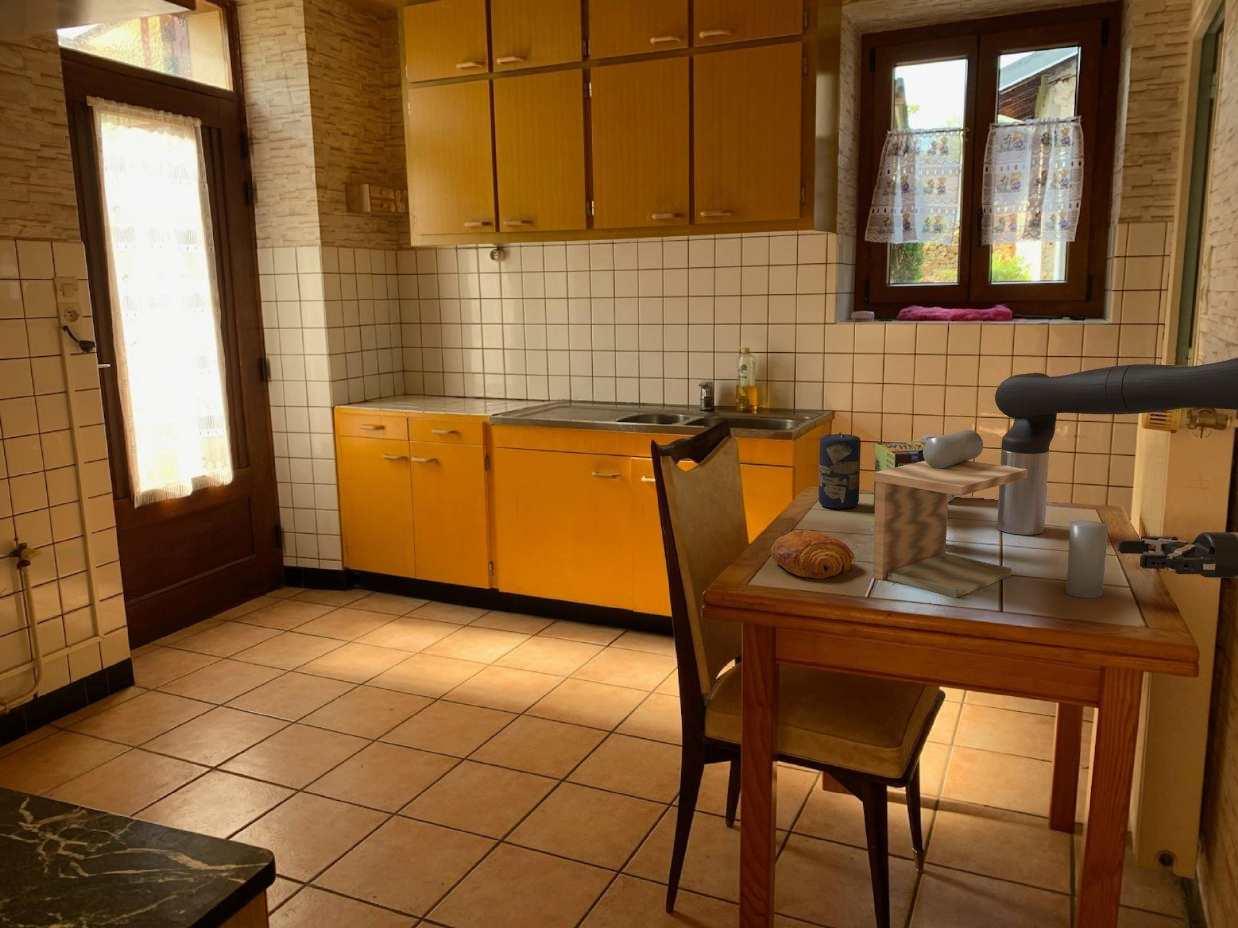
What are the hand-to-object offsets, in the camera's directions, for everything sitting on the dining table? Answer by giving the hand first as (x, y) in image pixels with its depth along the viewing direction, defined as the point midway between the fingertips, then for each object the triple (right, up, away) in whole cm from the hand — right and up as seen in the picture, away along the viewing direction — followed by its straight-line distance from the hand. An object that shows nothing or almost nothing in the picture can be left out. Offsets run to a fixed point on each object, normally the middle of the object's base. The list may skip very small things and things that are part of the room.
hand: (1129, 553), depth 157 cm
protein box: (-20, +3, +59) cm, 62 cm away
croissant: (-49, -5, +19) cm, 53 cm away
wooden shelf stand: (-26, -5, +12) cm, 29 cm away
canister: (-33, +5, +67) cm, 75 cm away
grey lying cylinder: (-29, +17, +10) cm, 35 cm away
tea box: (-7, +7, +75) cm, 75 cm away
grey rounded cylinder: (-7, -7, +2) cm, 10 cm away
